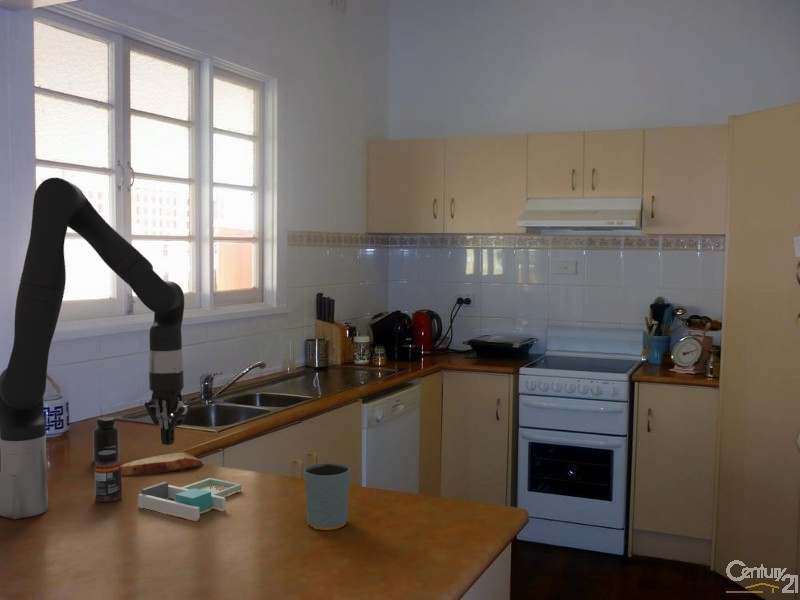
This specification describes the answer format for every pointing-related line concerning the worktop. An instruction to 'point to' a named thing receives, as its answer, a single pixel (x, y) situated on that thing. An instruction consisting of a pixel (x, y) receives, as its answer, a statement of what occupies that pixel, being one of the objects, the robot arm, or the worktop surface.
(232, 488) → the tray
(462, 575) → the worktop surface
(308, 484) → the grey blue cup
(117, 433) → the supplement bottle
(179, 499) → the teal block
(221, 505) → the white u-shaped frame
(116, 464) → the supplement bottle
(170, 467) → the bread slice
